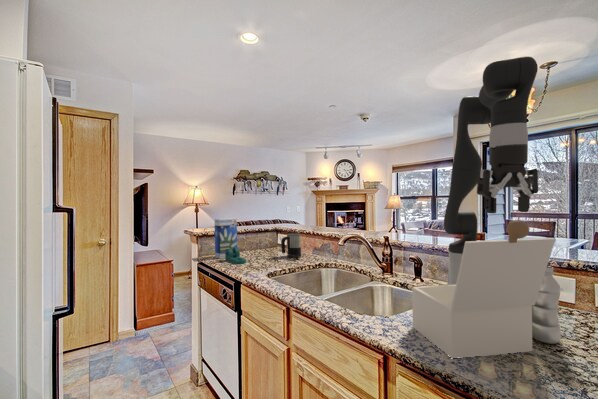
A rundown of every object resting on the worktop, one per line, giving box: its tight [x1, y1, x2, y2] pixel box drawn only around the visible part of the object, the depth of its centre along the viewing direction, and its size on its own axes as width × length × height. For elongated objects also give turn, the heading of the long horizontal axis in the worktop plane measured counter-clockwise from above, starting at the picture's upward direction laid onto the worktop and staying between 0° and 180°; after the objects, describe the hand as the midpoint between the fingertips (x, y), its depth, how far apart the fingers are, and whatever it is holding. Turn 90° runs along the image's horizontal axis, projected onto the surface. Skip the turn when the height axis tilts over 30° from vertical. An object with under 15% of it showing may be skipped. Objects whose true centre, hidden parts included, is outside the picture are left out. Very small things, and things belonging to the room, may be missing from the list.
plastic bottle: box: [532, 265, 562, 345], centre depth 79 cm, size 6×7×20 cm
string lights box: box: [214, 217, 238, 259], centre depth 200 cm, size 13×8×26 cm, turn 130°
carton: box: [411, 284, 533, 359], centre depth 81 cm, size 18×22×12 cm
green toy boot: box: [224, 247, 247, 265], centre depth 185 cm, size 18×7×8 cm, turn 38°
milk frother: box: [280, 233, 302, 260], centre depth 194 cm, size 14×16×15 cm
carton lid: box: [451, 219, 556, 312], centre depth 68 cm, size 23×22×4 cm
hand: (507, 212), depth 71 cm, fingers open, 8 cm apart
